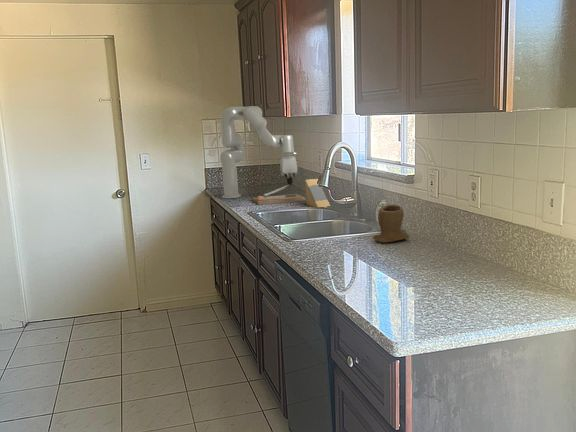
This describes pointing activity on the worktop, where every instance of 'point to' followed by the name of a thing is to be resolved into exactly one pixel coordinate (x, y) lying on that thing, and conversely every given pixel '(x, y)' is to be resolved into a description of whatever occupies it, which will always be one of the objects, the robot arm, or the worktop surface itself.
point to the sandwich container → (315, 194)
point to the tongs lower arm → (280, 196)
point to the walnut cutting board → (278, 199)
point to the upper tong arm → (278, 190)
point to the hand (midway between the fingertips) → (290, 184)
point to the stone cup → (391, 224)
